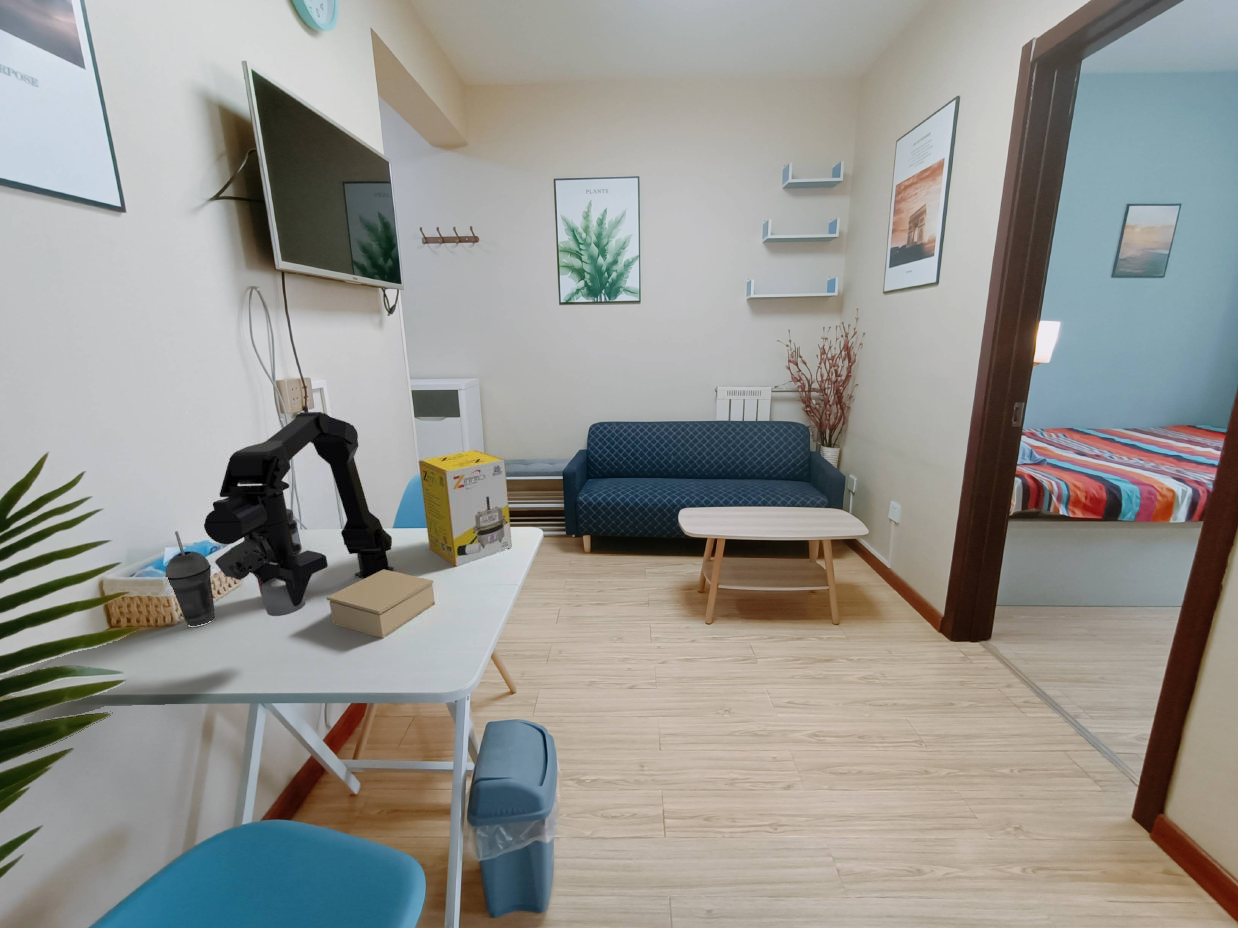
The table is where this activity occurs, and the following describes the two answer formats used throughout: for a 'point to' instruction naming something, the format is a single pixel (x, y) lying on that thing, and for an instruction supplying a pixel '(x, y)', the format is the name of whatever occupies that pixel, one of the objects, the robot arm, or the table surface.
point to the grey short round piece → (278, 598)
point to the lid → (380, 591)
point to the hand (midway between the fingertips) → (285, 601)
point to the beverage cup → (191, 585)
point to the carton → (383, 614)
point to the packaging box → (466, 505)
